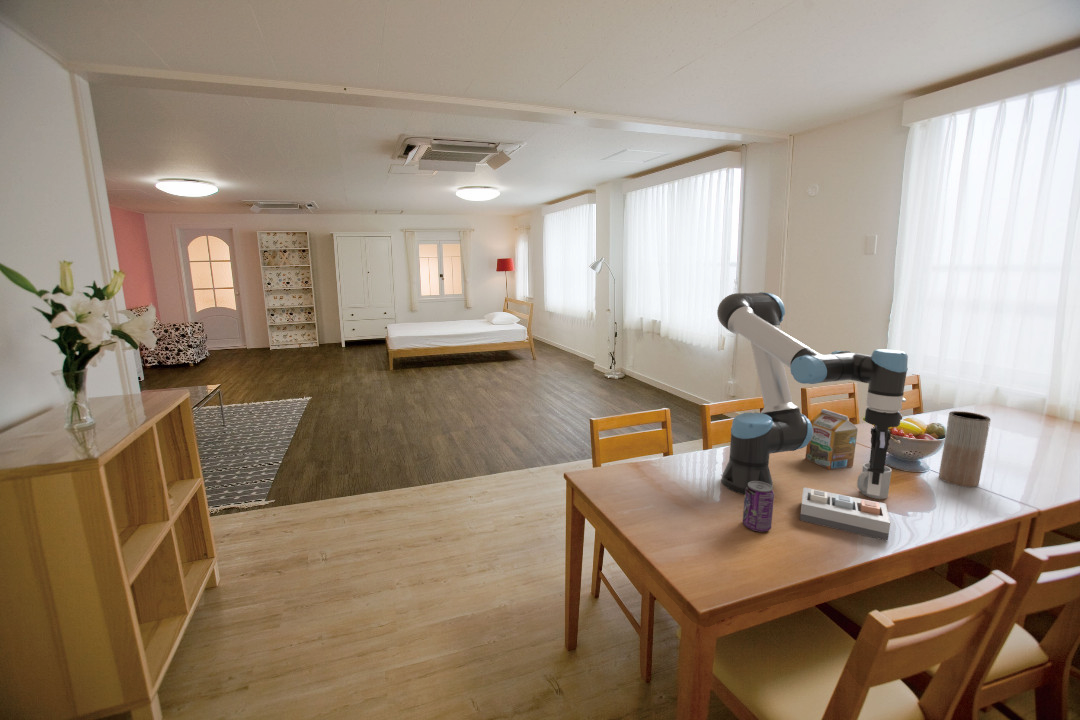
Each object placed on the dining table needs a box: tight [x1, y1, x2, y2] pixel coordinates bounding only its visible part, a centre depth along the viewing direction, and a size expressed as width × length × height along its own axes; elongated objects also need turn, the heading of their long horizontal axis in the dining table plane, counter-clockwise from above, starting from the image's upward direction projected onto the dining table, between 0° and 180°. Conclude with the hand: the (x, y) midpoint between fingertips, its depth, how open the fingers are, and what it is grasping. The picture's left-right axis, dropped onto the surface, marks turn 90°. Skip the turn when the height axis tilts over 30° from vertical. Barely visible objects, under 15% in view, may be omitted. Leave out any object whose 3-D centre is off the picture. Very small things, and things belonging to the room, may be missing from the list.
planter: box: [938, 410, 991, 488], centre depth 155 cm, size 10×10×23 cm
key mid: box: [834, 493, 853, 509], centre depth 131 cm, size 4×4×3 cm
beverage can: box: [742, 481, 775, 533], centre depth 127 cm, size 7×7×12 cm
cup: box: [856, 462, 892, 500], centre depth 146 cm, size 7×10×9 cm
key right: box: [860, 498, 880, 515], centre depth 128 cm, size 4×4×3 cm
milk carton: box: [805, 408, 858, 471], centre depth 170 cm, size 11×11×19 cm
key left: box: [810, 488, 828, 504], centre depth 134 cm, size 4×4×3 cm
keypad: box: [799, 487, 891, 542], centre depth 131 cm, size 20×12×5 cm, turn 59°
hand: (873, 493), depth 127 cm, fingers closed
